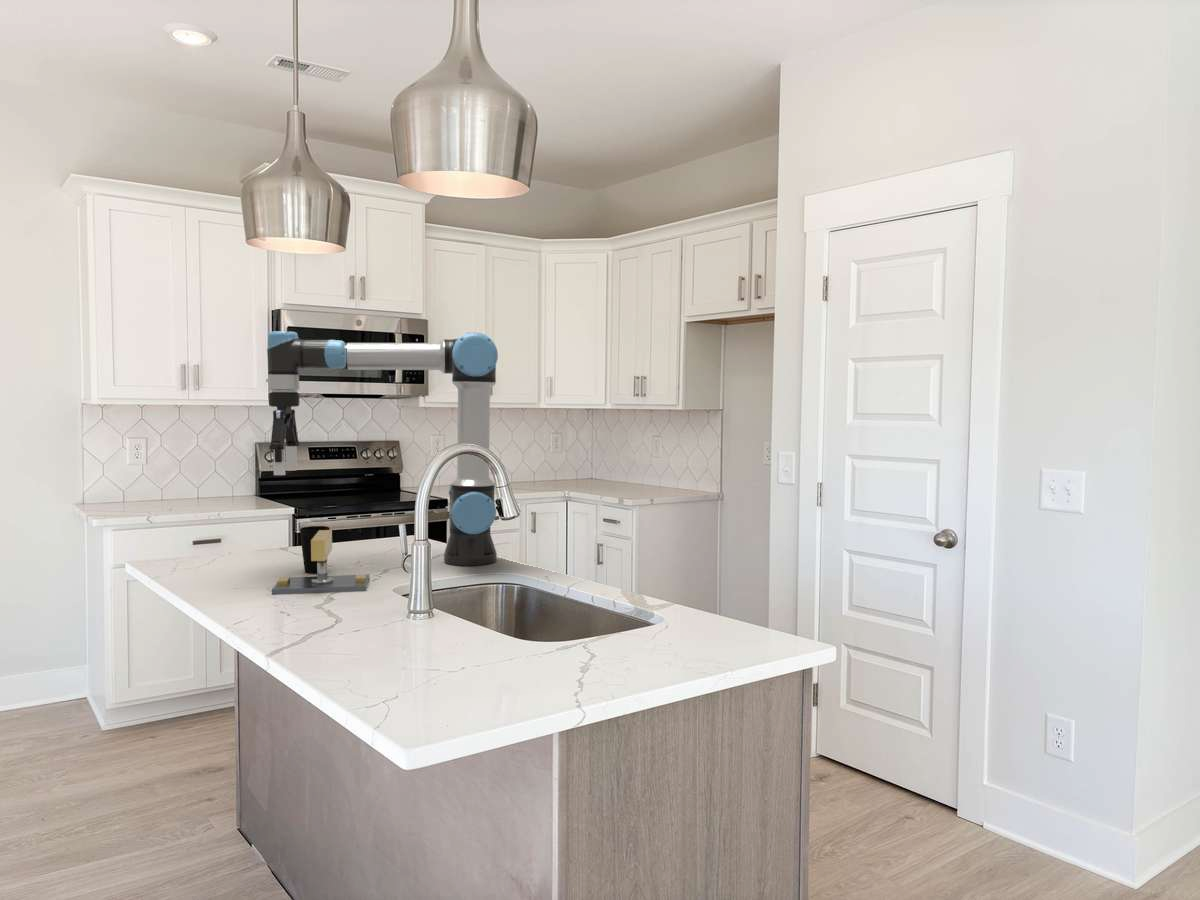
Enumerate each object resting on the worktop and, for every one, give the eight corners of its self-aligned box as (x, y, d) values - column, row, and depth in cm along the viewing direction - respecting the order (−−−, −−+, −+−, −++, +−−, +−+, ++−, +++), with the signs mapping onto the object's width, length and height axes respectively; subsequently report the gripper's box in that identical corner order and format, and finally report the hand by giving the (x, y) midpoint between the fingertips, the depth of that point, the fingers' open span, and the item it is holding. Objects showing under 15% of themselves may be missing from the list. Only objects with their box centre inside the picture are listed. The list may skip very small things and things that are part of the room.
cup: (324, 574, 235) (324, 530, 234) (296, 574, 235) (295, 530, 234) (334, 569, 243) (333, 526, 242) (306, 569, 243) (305, 525, 242)
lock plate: (369, 578, 230) (369, 556, 230) (365, 590, 216) (365, 566, 216) (281, 582, 226) (280, 559, 225) (271, 594, 212) (271, 569, 212)
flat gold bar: (332, 555, 229) (331, 529, 228) (325, 567, 213) (324, 540, 213) (319, 555, 228) (319, 530, 228) (311, 567, 212) (310, 540, 212)
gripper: (280, 391, 241) (282, 468, 242) (256, 391, 216) (258, 477, 217) (308, 391, 242) (310, 468, 243) (287, 391, 217) (289, 477, 218)
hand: (285, 472), depth 230 cm, fingers open, 13 cm apart
